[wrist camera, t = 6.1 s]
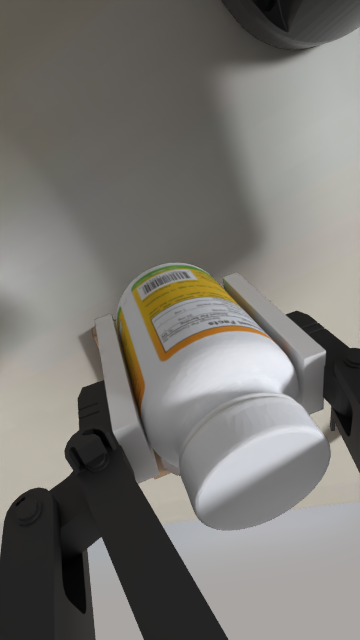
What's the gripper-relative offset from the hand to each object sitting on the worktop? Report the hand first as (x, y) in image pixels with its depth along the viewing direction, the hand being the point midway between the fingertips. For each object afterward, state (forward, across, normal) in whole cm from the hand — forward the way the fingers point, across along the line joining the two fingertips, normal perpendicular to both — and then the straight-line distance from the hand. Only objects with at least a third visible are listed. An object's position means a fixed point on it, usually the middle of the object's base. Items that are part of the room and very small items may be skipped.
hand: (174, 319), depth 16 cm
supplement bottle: (+1, 0, 0) cm, 1 cm away
